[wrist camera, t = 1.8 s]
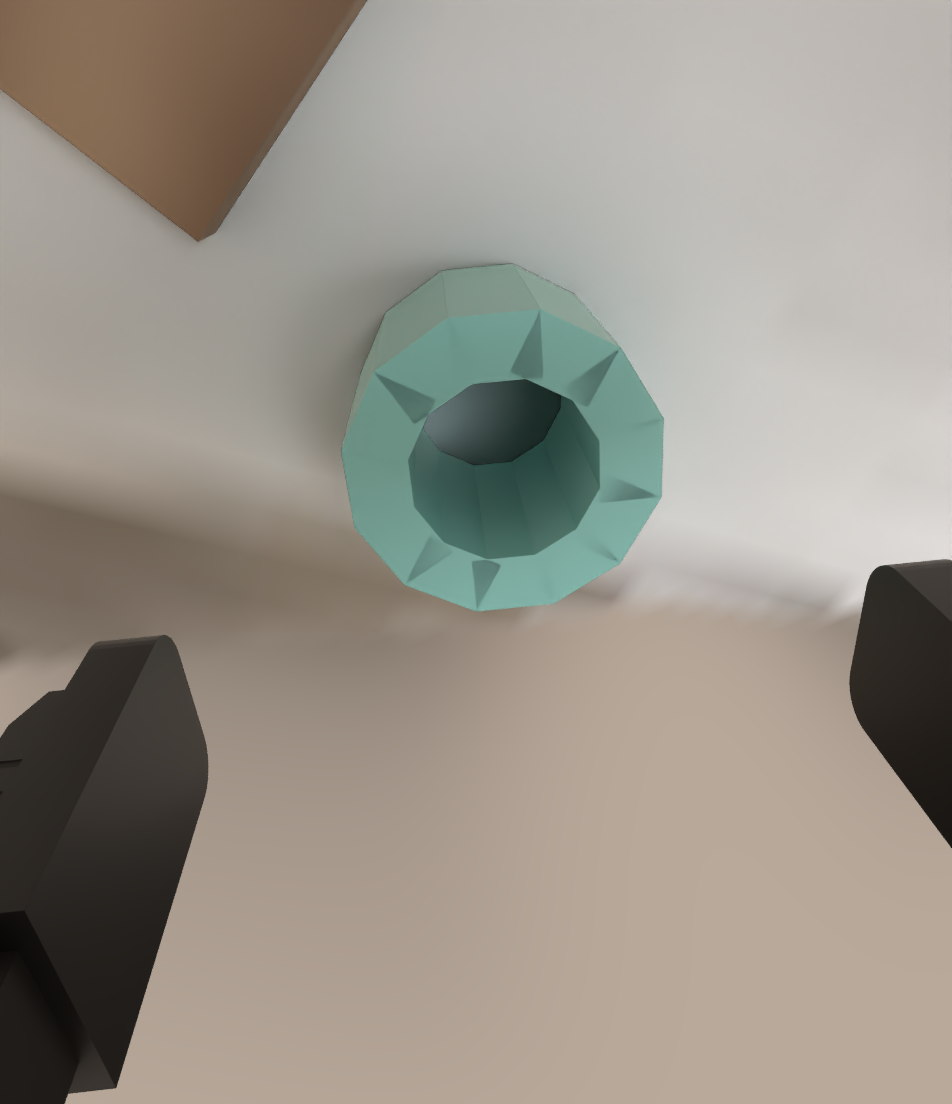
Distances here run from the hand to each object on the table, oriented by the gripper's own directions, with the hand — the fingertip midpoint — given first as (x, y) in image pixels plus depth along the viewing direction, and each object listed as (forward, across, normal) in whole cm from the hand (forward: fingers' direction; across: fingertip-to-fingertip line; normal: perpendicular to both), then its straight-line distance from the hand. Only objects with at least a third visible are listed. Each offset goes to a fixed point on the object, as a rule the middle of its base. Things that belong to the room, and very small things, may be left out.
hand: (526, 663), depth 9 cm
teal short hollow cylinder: (+11, 0, 0) cm, 11 cm away
